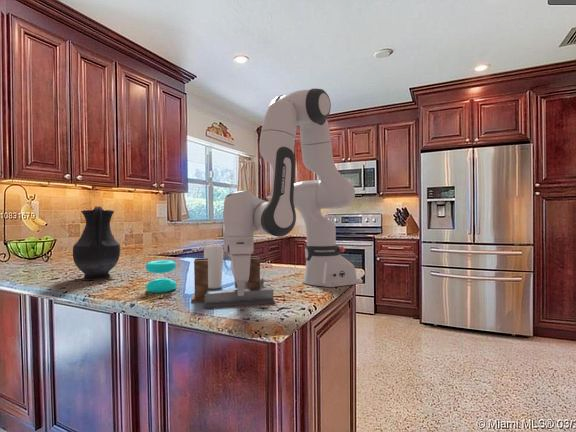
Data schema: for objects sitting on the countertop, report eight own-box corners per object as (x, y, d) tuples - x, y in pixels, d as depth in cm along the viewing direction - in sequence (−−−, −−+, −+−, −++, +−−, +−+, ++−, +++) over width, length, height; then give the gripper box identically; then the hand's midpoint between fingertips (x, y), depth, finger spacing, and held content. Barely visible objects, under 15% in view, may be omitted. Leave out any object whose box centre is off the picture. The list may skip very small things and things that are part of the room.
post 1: (211, 296, 107) (211, 257, 107) (211, 301, 101) (211, 260, 101) (192, 297, 106) (191, 258, 106) (191, 302, 100) (190, 261, 100)
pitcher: (118, 272, 153) (117, 207, 152) (123, 280, 135) (122, 206, 135) (73, 276, 144) (72, 207, 144) (72, 285, 126) (70, 205, 126)
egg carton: (262, 293, 113) (262, 280, 113) (240, 293, 113) (240, 281, 113) (265, 285, 123) (265, 274, 123) (245, 285, 124) (245, 274, 124)
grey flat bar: (270, 297, 105) (270, 295, 105) (274, 303, 98) (274, 301, 98) (204, 302, 100) (204, 300, 100) (204, 308, 94) (204, 306, 94)
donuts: (140, 264, 112) (153, 259, 122) (140, 293, 112) (153, 287, 122) (169, 263, 112) (180, 259, 122) (170, 293, 112) (180, 286, 122)
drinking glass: (219, 290, 116) (218, 246, 116) (201, 289, 117) (200, 246, 117) (226, 285, 123) (226, 245, 123) (209, 285, 124) (208, 244, 124)
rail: (271, 297, 103) (271, 287, 103) (273, 299, 100) (273, 289, 100) (204, 301, 99) (204, 291, 99) (204, 304, 96) (204, 293, 96)
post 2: (260, 293, 111) (260, 255, 111) (263, 297, 105) (263, 258, 105) (242, 294, 110) (242, 256, 109) (244, 298, 104) (244, 259, 104)
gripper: (226, 242, 109) (226, 284, 109) (229, 249, 89) (230, 301, 89) (245, 241, 110) (246, 283, 110) (253, 248, 90) (254, 299, 90)
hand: (239, 291), depth 99 cm, fingers open, 8 cm apart
